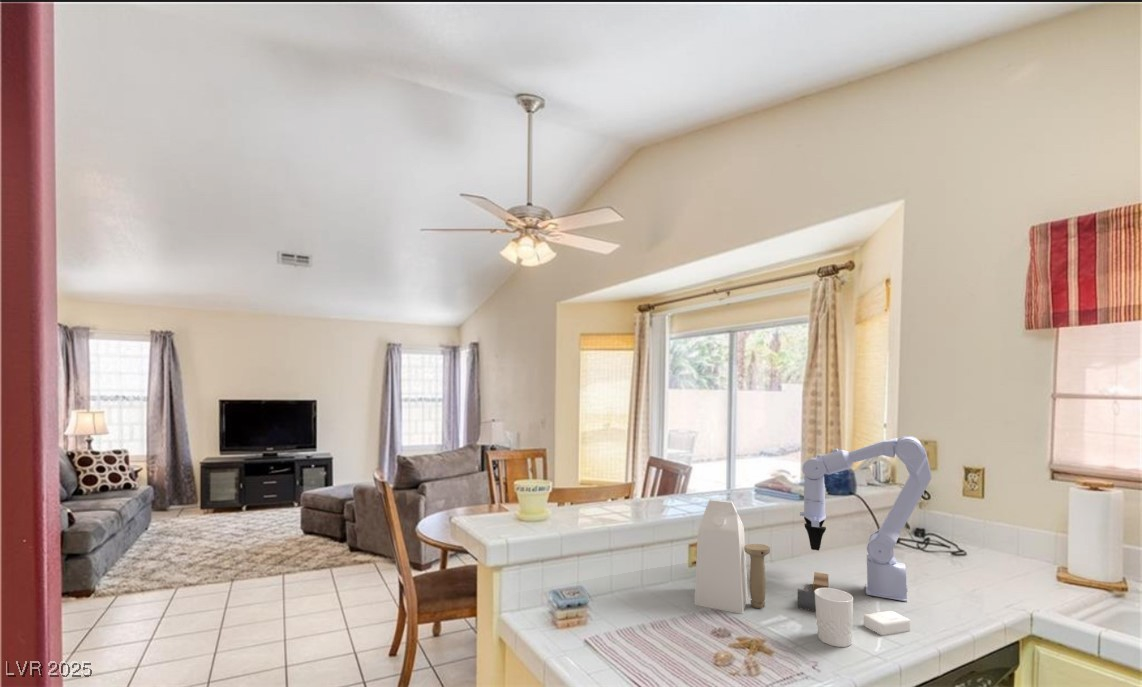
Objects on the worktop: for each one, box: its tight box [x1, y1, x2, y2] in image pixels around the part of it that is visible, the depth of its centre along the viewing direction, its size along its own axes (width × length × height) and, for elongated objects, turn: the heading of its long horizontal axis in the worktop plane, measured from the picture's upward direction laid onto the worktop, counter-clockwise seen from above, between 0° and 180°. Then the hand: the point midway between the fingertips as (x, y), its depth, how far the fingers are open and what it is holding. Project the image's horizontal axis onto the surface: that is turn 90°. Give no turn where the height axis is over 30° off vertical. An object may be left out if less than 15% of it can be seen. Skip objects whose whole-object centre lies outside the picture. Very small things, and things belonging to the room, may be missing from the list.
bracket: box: [797, 587, 816, 612], centre depth 136 cm, size 6×10×4 cm
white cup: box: [814, 587, 854, 648], centre depth 119 cm, size 8×8×10 cm
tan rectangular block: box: [812, 571, 830, 591], centre depth 146 cm, size 10×4×4 cm, turn 153°
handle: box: [744, 543, 771, 609], centre depth 136 cm, size 5×6×15 cm
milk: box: [694, 498, 749, 615], centre depth 140 cm, size 12×12×26 cm
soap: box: [863, 610, 911, 636], centre depth 125 cm, size 9×6×3 cm, turn 107°
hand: (814, 545), depth 155 cm, fingers open, 7 cm apart
